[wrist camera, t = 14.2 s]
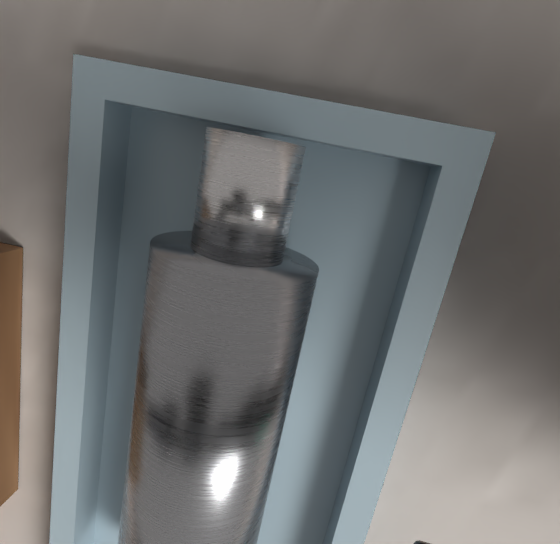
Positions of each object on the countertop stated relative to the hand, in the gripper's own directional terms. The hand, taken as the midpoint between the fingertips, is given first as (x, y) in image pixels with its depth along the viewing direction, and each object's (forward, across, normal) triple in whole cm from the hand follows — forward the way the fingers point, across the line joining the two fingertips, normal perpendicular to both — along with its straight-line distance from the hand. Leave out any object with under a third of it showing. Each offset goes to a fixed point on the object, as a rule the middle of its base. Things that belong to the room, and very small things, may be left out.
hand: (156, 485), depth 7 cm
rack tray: (+5, 0, +2) cm, 5 cm away
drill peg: (+5, 0, +1) cm, 5 cm away
